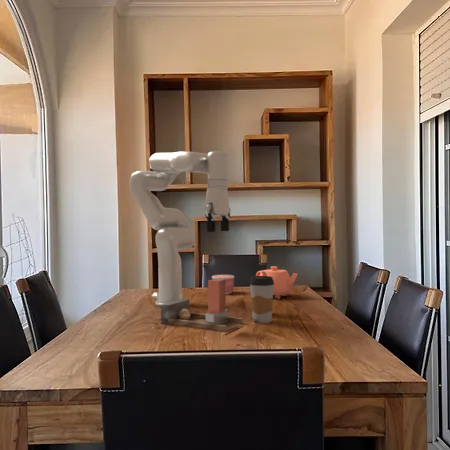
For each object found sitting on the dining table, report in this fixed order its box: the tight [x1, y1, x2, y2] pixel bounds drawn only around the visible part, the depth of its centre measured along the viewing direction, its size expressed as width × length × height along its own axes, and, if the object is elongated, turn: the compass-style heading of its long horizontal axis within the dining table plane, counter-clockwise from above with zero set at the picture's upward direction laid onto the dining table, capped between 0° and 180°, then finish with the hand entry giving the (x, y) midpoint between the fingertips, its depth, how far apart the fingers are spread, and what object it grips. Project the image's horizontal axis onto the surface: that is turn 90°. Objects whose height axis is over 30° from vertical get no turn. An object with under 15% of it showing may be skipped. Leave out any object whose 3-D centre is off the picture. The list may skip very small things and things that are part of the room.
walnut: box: [178, 309, 191, 320], centre depth 150 cm, size 4×4×4 cm
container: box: [211, 274, 235, 295], centre depth 212 cm, size 10×10×8 cm
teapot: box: [255, 265, 298, 300], centre depth 200 cm, size 16×17×14 cm
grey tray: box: [160, 298, 244, 336], centre depth 146 cm, size 24×12×7 cm, turn 60°
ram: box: [204, 279, 229, 325], centre depth 143 cm, size 4×9×14 cm, turn 150°
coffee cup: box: [249, 275, 274, 324], centre depth 153 cm, size 8×8×15 cm
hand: (218, 231), depth 167 cm, fingers open, 9 cm apart
